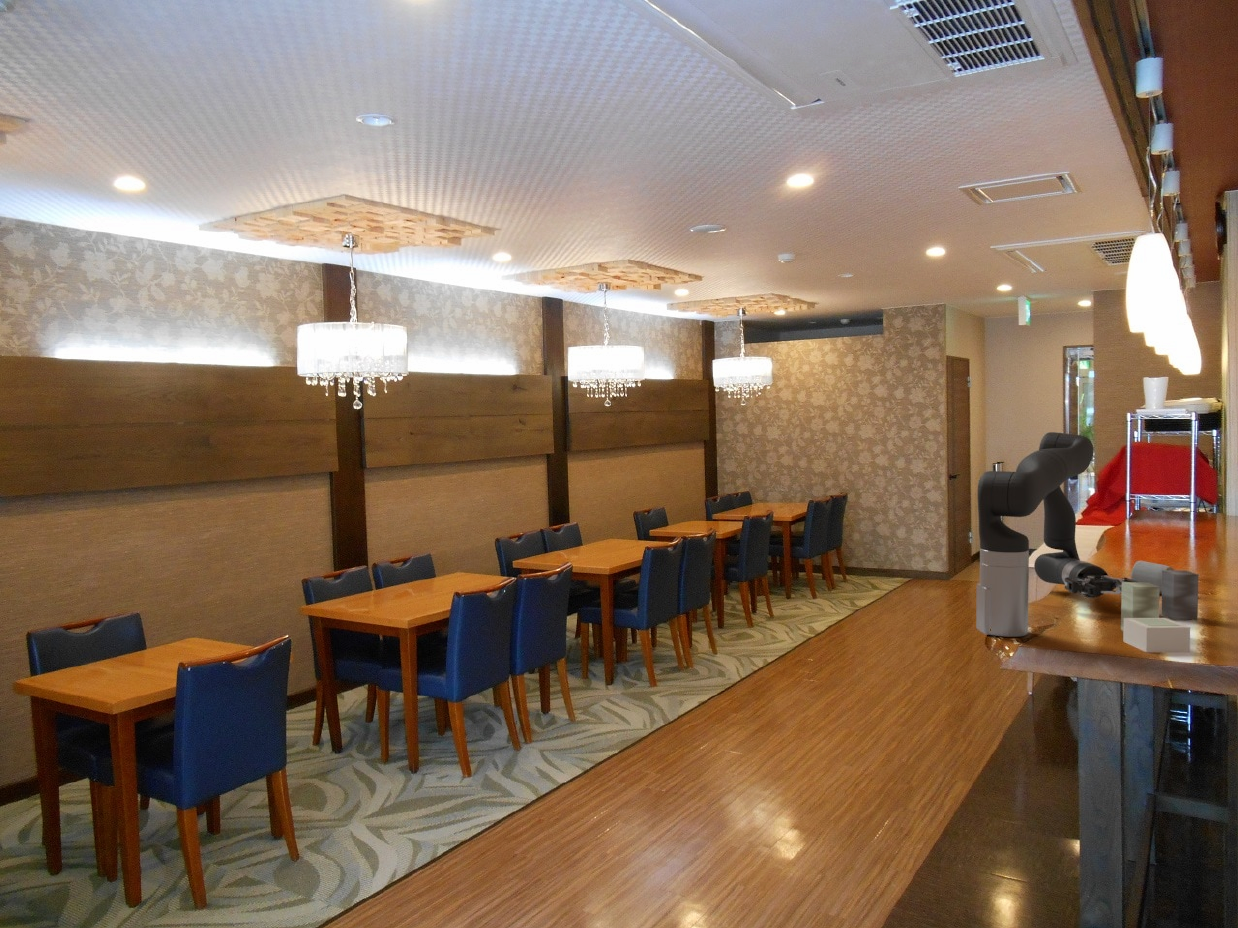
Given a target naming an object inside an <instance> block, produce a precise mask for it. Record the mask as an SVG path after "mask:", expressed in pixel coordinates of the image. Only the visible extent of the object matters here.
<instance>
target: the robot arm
mask: <svg viewBox="0 0 1238 928" xmlns="http://www.w3.org/2000/svg"><path fill="white" fill-rule="evenodd" d="M1093 456H1094V445H1093V443H1092V441H1091V439H1090V438H1088V437H1087V436H1085V435H1081V434H1073V433H1072V434H1071V433H1064V432H1057V431H1056V432H1055V431H1054V432H1053V431H1051V432H1047V433H1045V434H1044V435H1043V436H1042V438H1041V440H1040V443H1039V447H1038V450H1036V451H1034V452H1031V453H1029V454H1028V455H1026V456H1025V457H1024V458H1023V459H1022V460H1020V462H1019V463H1018V465H1017V466H1016V470H1015V471H1000V470H998V471H997V470H994V471H993V470H992V471H991V470H989V471H984V472H983V473H982V474H981V476H980V478H979V479H978V483H977V511H978V512H977V513H978V514H977V515H978V535H979V582H978V583H976V602H975V603H976V604H975V605H976V613H975V614H976V616H975V617H976V618H975V620H976V623H975V625H976V626H975V627H976V629H977V630H978V631H979V632H981V634H984V635H985V636H987V635H990V636H997V637H1007V638H1009V637H1011V638H1012V637H1013V638H1014V637H1024V636H1028V634H1029V579H1030V578H1029V572H1030V570H1029V569H1030V568H1029V565H1030V562H1029V561H1030V559H1029V558H1030V554H1029V552H1030V550H1029V549H1030V541H1029V538H1028V536H1027V535H1025V534H1023V533H1021V532H1019V531H1016V530H1014V529H1012V528H1010V527H1009V526H1007V525H1006V524H1005V523H1004V522H1003V520H1002V518H1001V517H1010V518H1024V517H1028V516H1030V515H1031V514H1032V513H1034V512H1035V511H1036V510H1037V508H1038V506H1040V504H1041V503H1042V501H1043V510H1044V513H1043V514H1044V518H1043V519H1044V520H1043V521H1044V522H1043V542H1044V544H1045V546H1047V547H1048V548H1050V549H1052V550H1058V551H1059V552H1048V553H1042V554H1040V555H1039V556H1037V557H1036V559H1035V560H1034V565H1033V567H1034V572H1035V573H1036V575H1037V577H1038V578H1039V579H1040V580H1041V581H1043V582H1045V583H1048V584H1056V585H1057V584H1058V585H1064V589H1065V590H1067V591H1068V592H1070V593H1072V594H1080V595H1082V596H1083V597H1086V598H1090V599H1092V598H1093V599H1094V598H1098V597H1100V596H1102V595H1104V594H1111V595H1112V594H1113V595H1122V582H1137V581H1134V580H1131V578H1128V577H1122V578H1117V577H1111V576H1110V575H1109V574H1108V573H1107V572H1106V571H1105V569H1104V568H1102V567H1101V566H1098V565H1096V564H1093V563H1091V562H1088V561H1084V560H1081V559H1080V557H1079V554H1078V549H1077V548H1078V547H1077V545H1076V524H1077V519H1076V513H1075V510H1074V508H1073V505H1072V504H1071V503H1070V501H1069V499H1068V498H1067V496H1066V494H1065V493H1064V492H1063V490H1062V488H1061V485H1062V484H1063V483H1065V482H1066V481H1068V480H1069V479H1071V478H1074V477H1076V476H1078V475H1081V474H1082V473H1084V472H1085V471H1086V470H1087V469H1088V468H1089V467H1090V464H1091V462H1092V461H1093ZM992 625H993V626H992ZM991 627H992V628H991ZM990 629H991V631H990Z"/></svg>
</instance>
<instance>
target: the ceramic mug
mask: <svg viewBox="0 0 1238 928" xmlns="http://www.w3.org/2000/svg"><path fill="white" fill-rule="evenodd" d="M1162 570H1175V568H1173V567H1171V566H1168V565H1165V564H1159V563H1155V562H1149V561H1145V560H1138V561H1136V562H1135V563H1134V565H1133V567H1132V570H1131V576H1130V579H1131V580H1134V581H1137V582H1147V583H1150V584H1153V585H1155V586H1158V587H1159V595H1162Z"/></svg>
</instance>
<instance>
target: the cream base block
mask: <svg viewBox="0 0 1238 928" xmlns="http://www.w3.org/2000/svg"><path fill="white" fill-rule="evenodd" d="M1122 632H1123V633H1122V634H1123V635H1122V636H1123V637H1122V639H1123V640H1122V641H1123V643H1126V644H1127V645H1130V646H1132V647H1134V648H1135V649H1136V648H1137V649H1138V650H1140V651H1143V652H1145V653H1191V644H1190V643H1191V626H1187V625H1185V624H1182V623H1180V622H1177V621H1176V620H1172V619H1169V618H1167V617H1159V618H1124V627H1123V631H1122Z"/></svg>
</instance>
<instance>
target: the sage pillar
mask: <svg viewBox="0 0 1238 928" xmlns="http://www.w3.org/2000/svg"><path fill="white" fill-rule="evenodd" d="M1120 607H1121V608H1120V612H1121V613H1120V614H1121V615H1120V631H1122V632H1123V627H1124V618H1160V594H1159V587H1158V586H1155V585H1153V584H1150V583H1147V582H1122V594H1121V605H1120Z"/></svg>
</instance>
